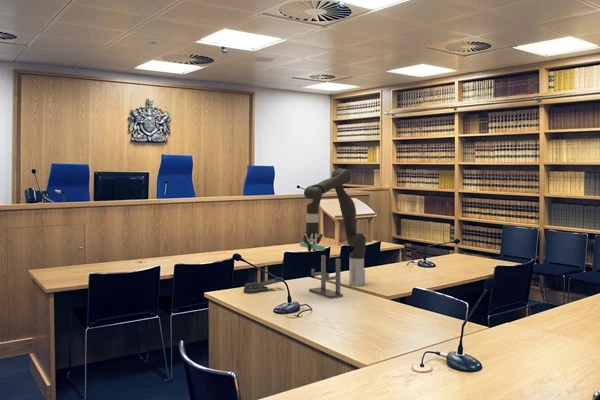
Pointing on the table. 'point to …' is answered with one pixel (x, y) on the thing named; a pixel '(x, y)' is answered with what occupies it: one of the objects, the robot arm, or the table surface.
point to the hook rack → (325, 276)
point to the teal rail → (313, 246)
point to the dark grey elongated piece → (259, 286)
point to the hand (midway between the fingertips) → (311, 251)
